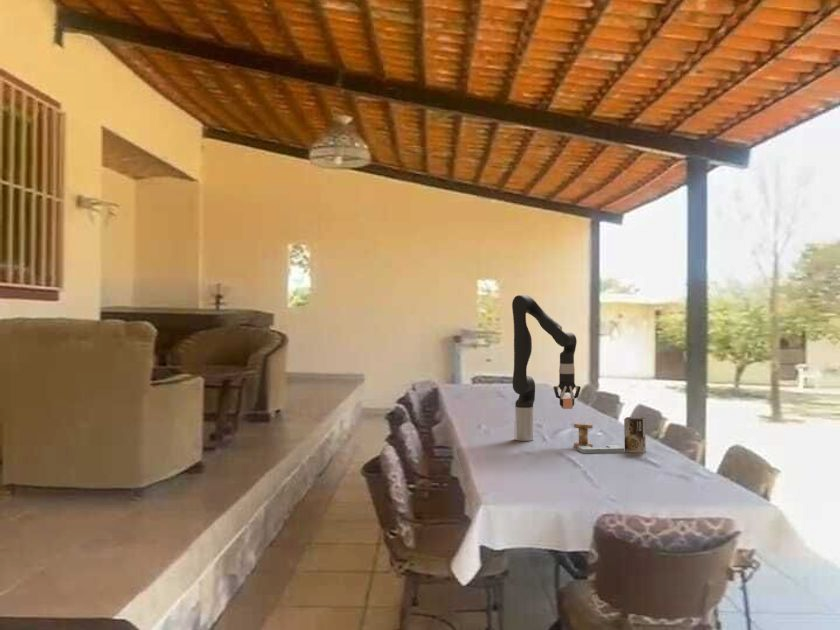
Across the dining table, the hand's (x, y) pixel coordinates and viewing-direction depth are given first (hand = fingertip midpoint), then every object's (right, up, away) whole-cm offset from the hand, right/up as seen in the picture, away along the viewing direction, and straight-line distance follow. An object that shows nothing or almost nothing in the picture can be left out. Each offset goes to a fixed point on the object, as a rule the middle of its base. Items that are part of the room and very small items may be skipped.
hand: (567, 406), depth 438 cm
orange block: (0, -1, 0) cm, 1 cm away
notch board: (+13, -19, -20) cm, 30 cm away
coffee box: (+29, -20, -21) cm, 41 cm away
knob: (+7, -19, -5) cm, 21 cm away
